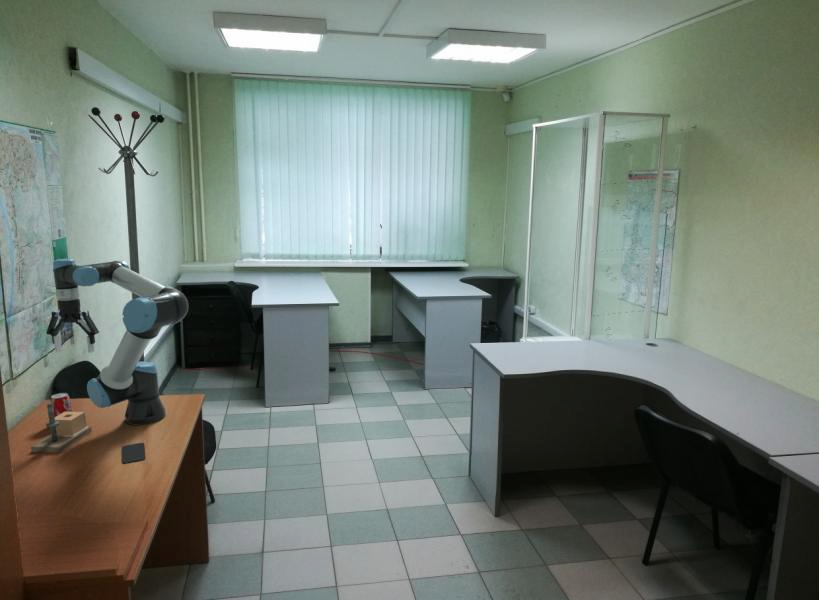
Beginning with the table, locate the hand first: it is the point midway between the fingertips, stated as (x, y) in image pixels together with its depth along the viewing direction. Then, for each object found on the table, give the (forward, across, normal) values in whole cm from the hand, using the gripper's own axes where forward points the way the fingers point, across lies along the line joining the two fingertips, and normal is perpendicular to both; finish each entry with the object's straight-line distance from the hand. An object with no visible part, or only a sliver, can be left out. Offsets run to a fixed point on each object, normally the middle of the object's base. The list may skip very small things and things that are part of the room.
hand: (75, 351), depth 234 cm
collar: (+26, +5, -16) cm, 31 cm away
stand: (+29, +5, -20) cm, 35 cm away
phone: (+29, +37, -28) cm, 55 cm away
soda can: (+29, -6, -4) cm, 30 cm away
